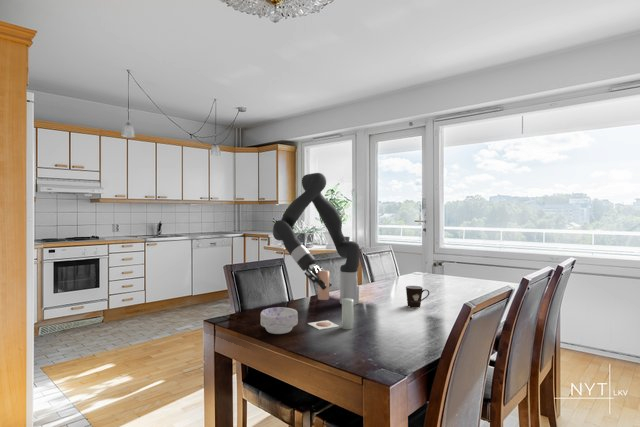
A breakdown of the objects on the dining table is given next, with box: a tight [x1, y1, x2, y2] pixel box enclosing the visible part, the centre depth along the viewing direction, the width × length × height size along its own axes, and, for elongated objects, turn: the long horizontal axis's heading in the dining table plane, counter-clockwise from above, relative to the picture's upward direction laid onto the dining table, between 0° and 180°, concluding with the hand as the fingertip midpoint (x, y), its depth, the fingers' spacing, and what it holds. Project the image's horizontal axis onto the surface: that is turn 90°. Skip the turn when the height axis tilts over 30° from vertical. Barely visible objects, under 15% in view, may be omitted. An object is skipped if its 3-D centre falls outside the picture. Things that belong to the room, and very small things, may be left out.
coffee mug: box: [405, 285, 430, 308], centre depth 207 cm, size 12×9×10 cm
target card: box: [307, 319, 340, 331], centre depth 172 cm, size 10×10×1 cm
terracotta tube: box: [317, 269, 330, 301], centre depth 172 cm, size 5×5×12 cm
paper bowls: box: [260, 306, 299, 335], centre depth 164 cm, size 15×15×8 cm
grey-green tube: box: [341, 298, 354, 331], centre depth 168 cm, size 5×5×12 cm
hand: (327, 287), depth 171 cm, fingers closed on terracotta tube, 4 cm apart
